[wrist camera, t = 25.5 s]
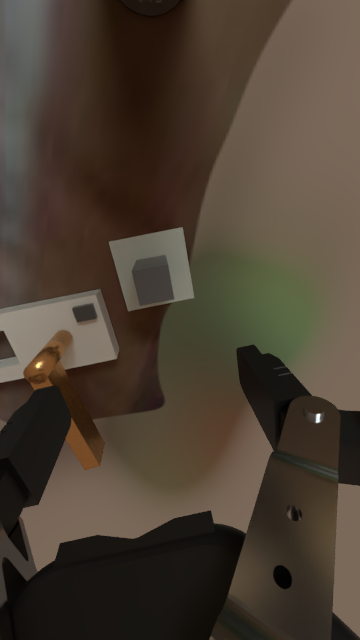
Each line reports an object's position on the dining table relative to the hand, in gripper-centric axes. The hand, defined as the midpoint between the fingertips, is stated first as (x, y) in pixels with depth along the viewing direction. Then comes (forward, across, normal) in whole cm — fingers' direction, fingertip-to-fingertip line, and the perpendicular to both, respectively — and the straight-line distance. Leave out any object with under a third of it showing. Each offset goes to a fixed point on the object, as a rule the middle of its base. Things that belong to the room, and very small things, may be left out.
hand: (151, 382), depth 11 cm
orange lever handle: (+23, +13, +13) cm, 29 cm away
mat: (+26, 0, 0) cm, 26 cm away
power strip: (+26, +19, +6) cm, 33 cm away
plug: (+26, 0, 0) cm, 26 cm away
